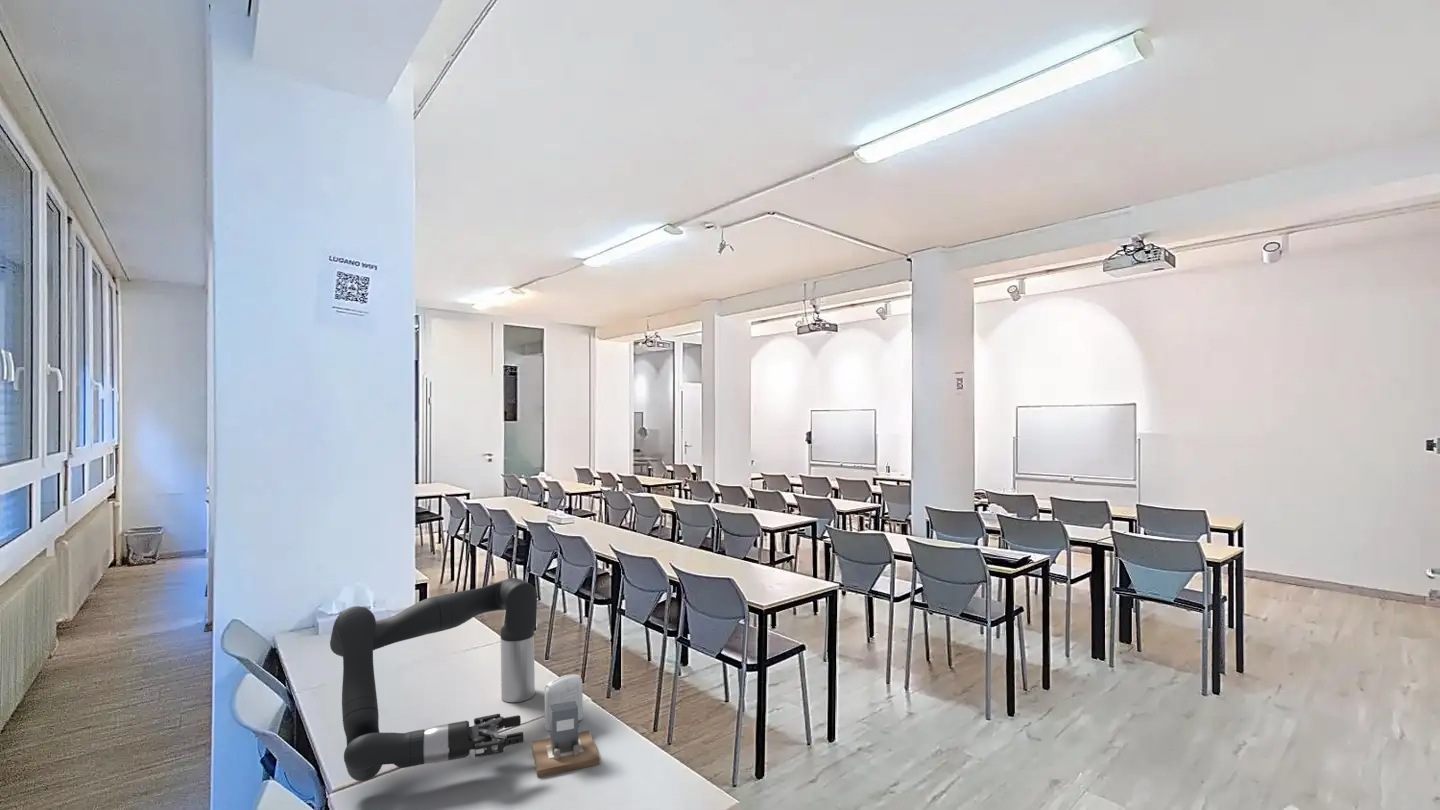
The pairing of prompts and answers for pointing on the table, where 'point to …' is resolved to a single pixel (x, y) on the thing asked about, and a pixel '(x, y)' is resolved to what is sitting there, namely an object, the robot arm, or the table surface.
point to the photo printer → (563, 694)
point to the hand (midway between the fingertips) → (522, 728)
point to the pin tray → (564, 755)
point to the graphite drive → (564, 726)
